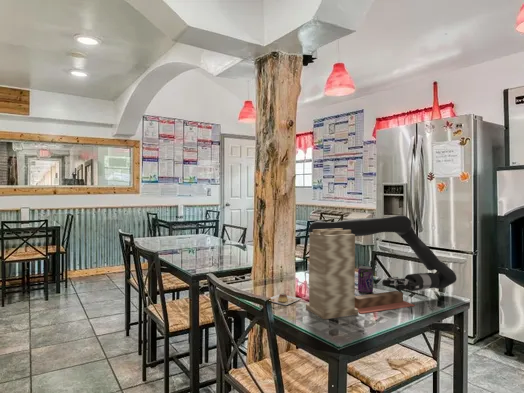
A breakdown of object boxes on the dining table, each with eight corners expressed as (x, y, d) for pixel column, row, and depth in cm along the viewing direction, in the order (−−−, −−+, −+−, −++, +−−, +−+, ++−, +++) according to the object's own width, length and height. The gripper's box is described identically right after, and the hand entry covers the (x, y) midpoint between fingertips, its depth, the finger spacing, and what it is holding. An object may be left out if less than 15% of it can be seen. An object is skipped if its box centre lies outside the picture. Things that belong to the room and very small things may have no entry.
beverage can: (362, 294, 174) (363, 269, 174) (355, 290, 181) (355, 266, 181) (375, 293, 176) (376, 268, 176) (367, 289, 183) (368, 265, 183)
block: (358, 308, 151) (358, 299, 151) (352, 305, 155) (352, 296, 155) (403, 302, 161) (403, 293, 161) (396, 299, 164) (396, 290, 164)
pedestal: (323, 319, 140) (324, 232, 139) (305, 308, 153) (306, 228, 152) (358, 314, 146) (358, 230, 145) (338, 304, 159) (338, 227, 158)
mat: (361, 313, 146) (361, 312, 146) (341, 303, 159) (341, 303, 159) (414, 305, 157) (414, 304, 157) (391, 297, 170) (391, 296, 170)
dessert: (280, 296, 173) (280, 286, 173) (301, 301, 165) (301, 290, 165) (264, 302, 164) (264, 291, 163) (286, 307, 156) (286, 296, 156)
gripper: (406, 270, 173) (378, 273, 167) (430, 277, 160) (401, 280, 154) (406, 286, 173) (378, 289, 167) (430, 294, 160) (401, 298, 154)
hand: (389, 285), depth 160 cm, fingers open, 8 cm apart
